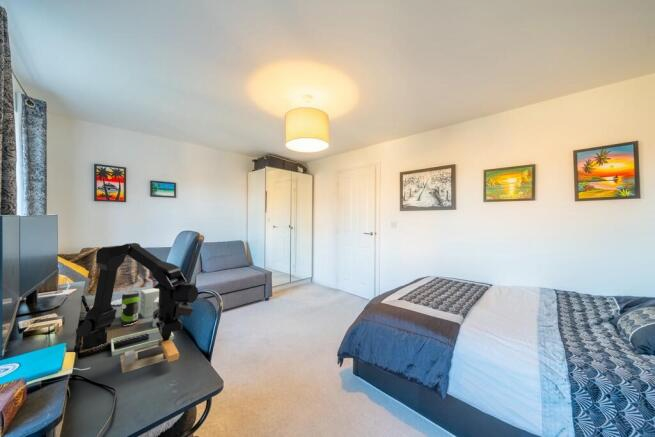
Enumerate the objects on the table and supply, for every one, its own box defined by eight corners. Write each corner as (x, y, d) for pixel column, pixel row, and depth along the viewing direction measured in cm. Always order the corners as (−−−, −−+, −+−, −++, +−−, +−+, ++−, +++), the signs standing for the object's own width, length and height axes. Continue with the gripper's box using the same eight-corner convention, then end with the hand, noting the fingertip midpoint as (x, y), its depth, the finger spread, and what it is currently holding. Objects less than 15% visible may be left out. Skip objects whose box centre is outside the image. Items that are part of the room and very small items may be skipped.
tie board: (122, 376, 78) (122, 365, 78) (119, 358, 87) (120, 348, 87) (179, 358, 89) (179, 348, 89) (171, 344, 98) (172, 335, 98)
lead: (124, 365, 82) (125, 356, 82) (124, 360, 84) (124, 352, 84) (172, 351, 92) (172, 343, 92) (170, 347, 94) (170, 339, 94)
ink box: (155, 320, 120) (156, 296, 120) (167, 318, 122) (168, 295, 122) (151, 327, 112) (152, 302, 112) (164, 325, 114) (165, 300, 114)
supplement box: (156, 310, 132) (157, 287, 132) (160, 314, 127) (161, 290, 127) (139, 314, 126) (140, 290, 126) (143, 318, 121) (144, 293, 121)
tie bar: (168, 362, 80) (168, 356, 80) (161, 347, 88) (161, 341, 88) (178, 358, 82) (179, 352, 82) (171, 344, 91) (171, 339, 91)
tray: (111, 358, 87) (112, 351, 87) (110, 345, 96) (110, 338, 96) (174, 341, 100) (174, 335, 100) (167, 331, 109) (168, 325, 109)
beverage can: (136, 320, 119) (137, 289, 119) (138, 324, 115) (140, 292, 115) (119, 323, 114) (121, 292, 114) (121, 328, 110) (123, 295, 110)
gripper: (199, 302, 89) (197, 345, 89) (185, 290, 103) (184, 327, 103) (163, 309, 81) (161, 356, 81) (153, 295, 95) (152, 335, 95)
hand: (166, 342), depth 90 cm, fingers closed
